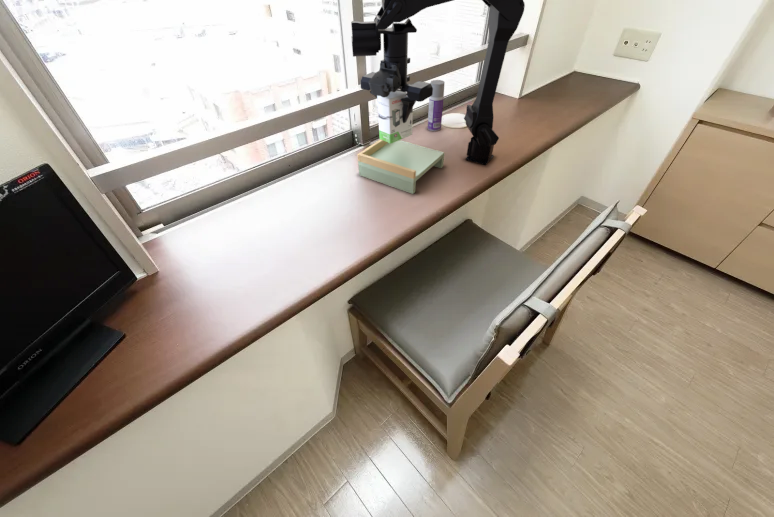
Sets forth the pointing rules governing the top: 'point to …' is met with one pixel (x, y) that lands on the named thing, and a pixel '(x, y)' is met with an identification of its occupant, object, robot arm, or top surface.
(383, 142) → the shelf
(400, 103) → the ink box
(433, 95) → the container
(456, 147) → the top surface
